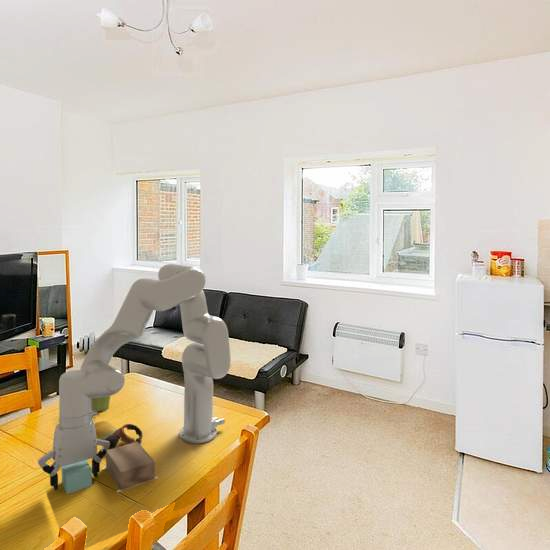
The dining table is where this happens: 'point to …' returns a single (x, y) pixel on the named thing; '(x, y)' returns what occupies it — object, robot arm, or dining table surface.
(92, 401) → the plant pot
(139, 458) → the plinth
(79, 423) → the robot arm
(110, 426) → the bread roll
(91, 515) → the dining table surface
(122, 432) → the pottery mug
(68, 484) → the teal cube
